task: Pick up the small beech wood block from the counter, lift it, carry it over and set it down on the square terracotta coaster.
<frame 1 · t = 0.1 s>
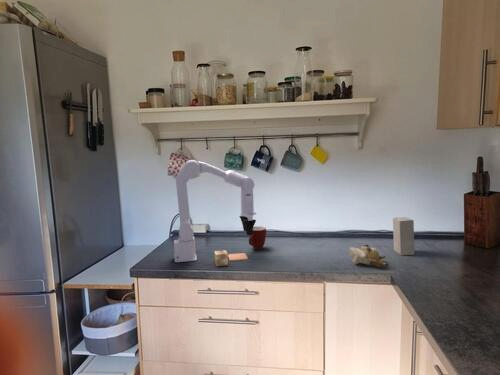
hand: (247, 232, 164), 10 cm above the worktop, fingers open, 7 cm apart
skincare box: (402, 253, 163), on the worktop
ceramic sculpture: (367, 265, 148), on the worktop
coaster: (237, 257, 160), on the worktop
block: (221, 263, 153), on the worktop
mug: (256, 249, 172), on the worktop
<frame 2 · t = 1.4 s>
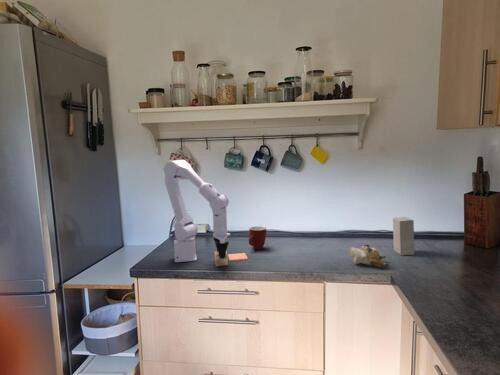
hand: (221, 255, 152), 4 cm above the worktop, fingers open, 7 cm apart
nothing on the worktop moved.
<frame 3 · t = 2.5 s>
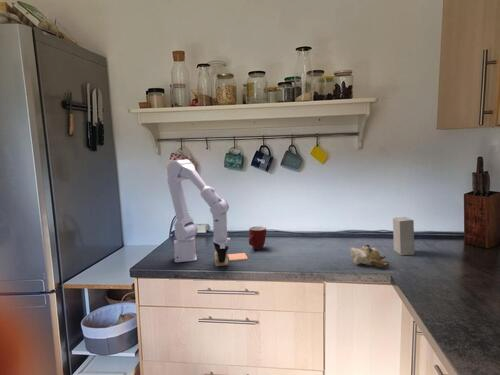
hand: (221, 260, 153), 1 cm above the worktop, fingers closed on block, 5 cm apart
block: (221, 263, 153), on the worktop, touching gripper
everything else where it was.
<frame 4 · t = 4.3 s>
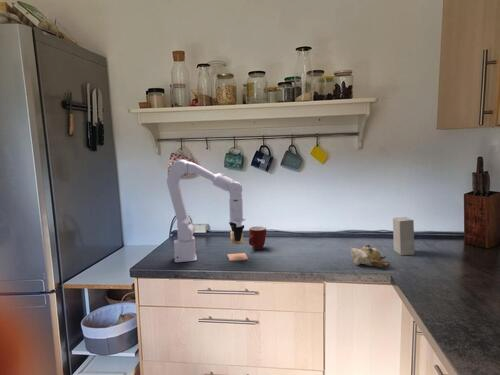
hand: (236, 239, 159), 8 cm above the worktop, fingers closed on block, 5 cm apart
block: (237, 242, 159), point 7 cm above the worktop, touching gripper
everything else where it was.
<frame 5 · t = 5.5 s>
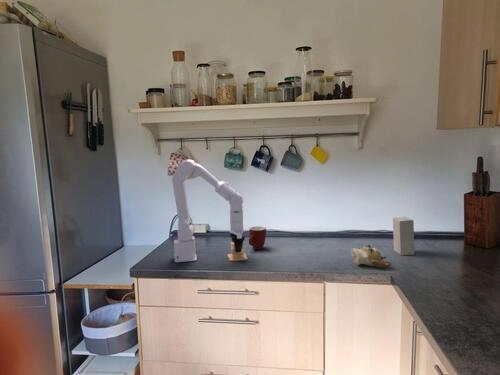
hand: (237, 250, 160), 3 cm above the worktop, fingers closed on block, 5 cm apart
block: (237, 253, 160), point 2 cm above the worktop, touching gripper
everything else where it was.
when the fingers open (3 cm above the worktop, at t = 6.2 s): block drops 1 cm, resting on coaster.
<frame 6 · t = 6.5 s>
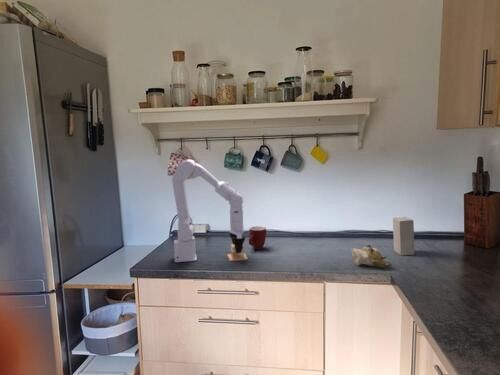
hand: (237, 250, 160), 3 cm above the worktop, fingers open, 7 cm apart
block: (237, 256, 160), point 1 cm above the worktop, touching coaster
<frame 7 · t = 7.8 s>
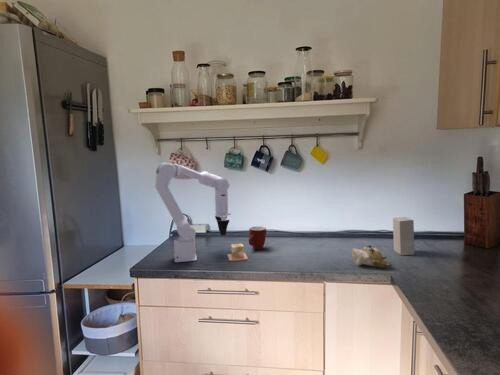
hand: (222, 233, 165), 10 cm above the worktop, fingers open, 7 cm apart
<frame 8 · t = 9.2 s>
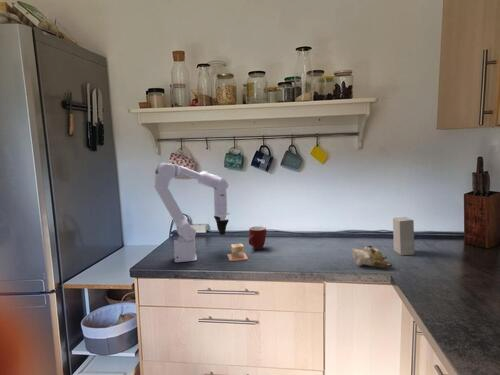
hand: (221, 232, 166), 10 cm above the worktop, fingers open, 7 cm apart
at the end: block inside the target area on the coaster (0.0 cm from its centre), point 0.6 cm above the coaster's base; block tilted 0°; the gripper is holding nothing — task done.
